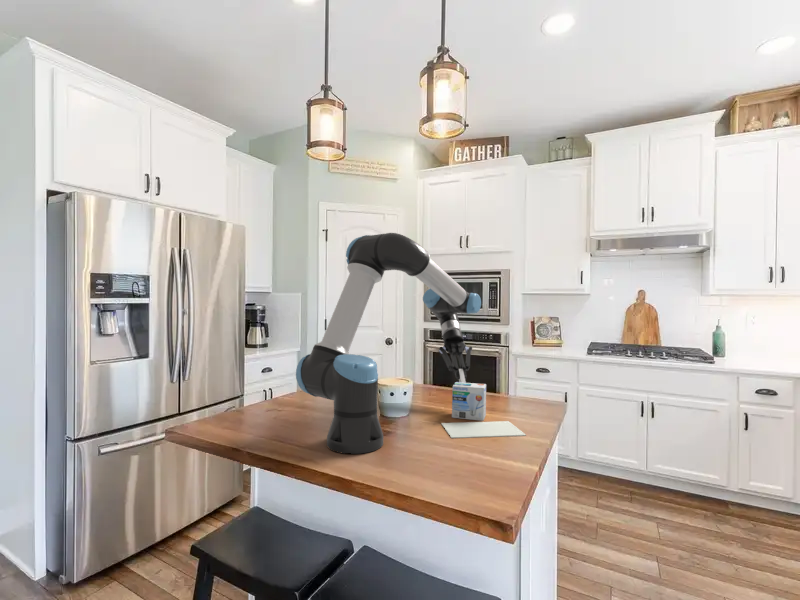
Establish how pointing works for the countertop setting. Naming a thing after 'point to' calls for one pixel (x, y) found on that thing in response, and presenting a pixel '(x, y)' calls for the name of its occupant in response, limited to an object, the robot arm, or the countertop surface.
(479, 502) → the countertop surface
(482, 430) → the board
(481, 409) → the light bulb box
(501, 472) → the countertop surface
